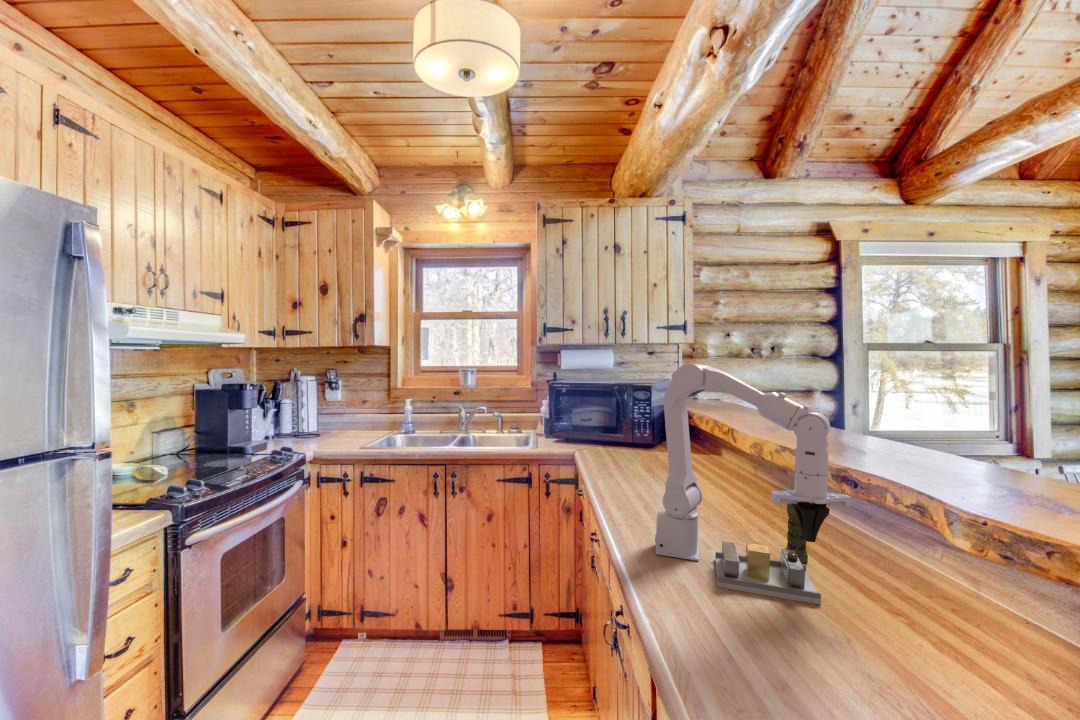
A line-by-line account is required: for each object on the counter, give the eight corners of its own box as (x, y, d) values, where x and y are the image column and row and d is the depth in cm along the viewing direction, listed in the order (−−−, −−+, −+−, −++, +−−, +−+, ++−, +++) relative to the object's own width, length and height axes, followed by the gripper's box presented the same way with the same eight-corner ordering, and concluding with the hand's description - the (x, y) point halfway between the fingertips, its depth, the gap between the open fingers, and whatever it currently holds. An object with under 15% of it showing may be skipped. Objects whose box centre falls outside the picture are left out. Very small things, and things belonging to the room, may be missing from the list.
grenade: (815, 568, 103) (818, 500, 102) (785, 562, 105) (788, 496, 105) (812, 553, 111) (814, 490, 110) (784, 548, 113) (786, 486, 113)
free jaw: (788, 588, 91) (789, 563, 91) (779, 566, 100) (780, 543, 100) (804, 591, 90) (805, 565, 90) (793, 568, 99) (794, 545, 99)
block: (747, 577, 96) (748, 550, 96) (745, 568, 99) (746, 542, 99) (769, 580, 94) (770, 553, 94) (766, 571, 98) (767, 545, 98)
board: (718, 587, 93) (718, 577, 93) (715, 559, 106) (715, 551, 106) (820, 604, 88) (821, 594, 88) (805, 573, 100) (805, 564, 100)
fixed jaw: (724, 579, 94) (725, 560, 94) (721, 559, 104) (722, 541, 104) (739, 582, 93) (739, 562, 93) (735, 561, 103) (735, 543, 103)
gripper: (782, 476, 90) (780, 546, 90) (861, 479, 89) (859, 550, 89) (767, 467, 97) (765, 532, 97) (840, 470, 96) (838, 535, 96)
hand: (809, 540), depth 94 cm, fingers closed
